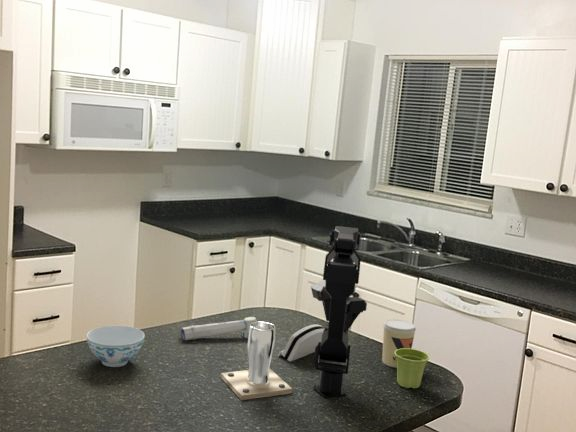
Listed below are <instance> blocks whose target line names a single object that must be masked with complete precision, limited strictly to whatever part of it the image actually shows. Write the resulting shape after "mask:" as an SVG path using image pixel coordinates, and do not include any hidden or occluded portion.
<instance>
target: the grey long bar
mask: <svg viewBox="0 0 576 432" xmlns="http://www.w3.org/2000/svg"><path fill="white" fill-rule="evenodd" d="M254 322H258V320H257V318H256V317H255V316H248V317H247V316H246V317H244V319H242V320H240V319H239V320H233V321H224V322H223V321H222V322H215V323H214V322H213V323H206V324H198V325H193V324H191V325H189V326H185V327H184V326H183V327H181V328H180V330H179V331H180V333H179V334H180V339H181V340H182V341H191V340H193V341H195V340H198V339H203V338H207V337H213V336H217V335H222V334H228V333H229V334H230V333H235V332H239V331H240V332H241V337H243V338H244V339H248V335H249V329H250V324H251V323H254Z"/></svg>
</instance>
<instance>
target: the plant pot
mask: <svg viewBox="0 0 576 432" xmlns="http://www.w3.org/2000/svg"><path fill="white" fill-rule="evenodd" d="M395 355H396V360H397V368H396V376H397V377H396V382H397V384H398V386H400V387H402V388H406V389H410V388H412V389H418V388H419V387H420V386H421V383H422V380H423V375H424V371H425V368H426V365H427V364H428V361H429V360H430V355H429V354H428V353H426V352H425V351H422V350H419V349H416V348H415V349H414V348H412V349H409V348H402V349H397V350H396V351H395Z"/></svg>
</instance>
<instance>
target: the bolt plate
mask: <svg viewBox="0 0 576 432" xmlns="http://www.w3.org/2000/svg"><path fill="white" fill-rule="evenodd" d="M248 371H249V369H244V370H236V371H228V372H221V373H220V378H221V380H222V381H223V382H224V383H225V384H226V385H227V386H228V388H230V389H231V390H232V392H233V393H234V394H235V395H236V396H237V397H238V398H239V399H240V400H241V401H247V400H253V399H260V398H266V397H268V398H269V397H275V396H282V395H289V394H293V388H292V386H290V385H289V384H288V383H287V382H285V381H284V380H283V378H281V377H280V376H279V375H278V374H277V373H275V371H274V370H272V369H271V368H270V367H269V377H270V383H269V384H268V385H265V386H254V385H251V384H249V383H247V381H246V379H247V375H248Z"/></svg>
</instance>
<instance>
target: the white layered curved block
mask: <svg viewBox="0 0 576 432" xmlns="http://www.w3.org/2000/svg"><path fill="white" fill-rule="evenodd" d="M324 329H325V328H324V326H323V325H320V324H318V323H317V324H310V325H307V326H304V327H303V328H301V329H299V330H297V331H296V332H294V333H293V334H292V335H291V336H290V338H289V339H288V341H287V343H286V345H285V348H284V349H282V350H280V351H279V352H278V354H277V357H278V358H280V357H282V356H283V358H286V357H287V359H286V360H287V361H288V362H293V361H296V360H298V359H301V358H303V357H306V356H308V355H311V354H313V353H315V347H316V346H317V345H318V343H319V342H321V340H322V334H323V331H324Z"/></svg>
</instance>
